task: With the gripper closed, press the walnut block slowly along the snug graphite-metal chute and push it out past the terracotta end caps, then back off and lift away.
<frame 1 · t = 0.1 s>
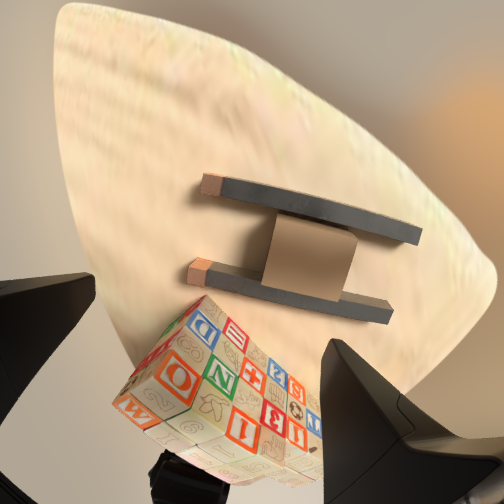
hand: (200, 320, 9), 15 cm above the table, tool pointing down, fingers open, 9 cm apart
stack of blocks: (257, 375, 28), on the table
walnut block: (305, 248, 23), on the table
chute: (305, 248, 23), on the table
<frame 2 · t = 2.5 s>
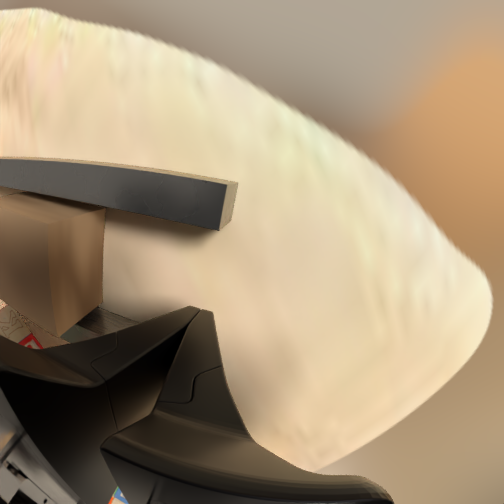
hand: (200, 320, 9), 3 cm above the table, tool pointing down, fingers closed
stack of blocks: (88, 411, 17), on the table
walnut block: (64, 242, 12), on the table
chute: (62, 243, 12), on the table
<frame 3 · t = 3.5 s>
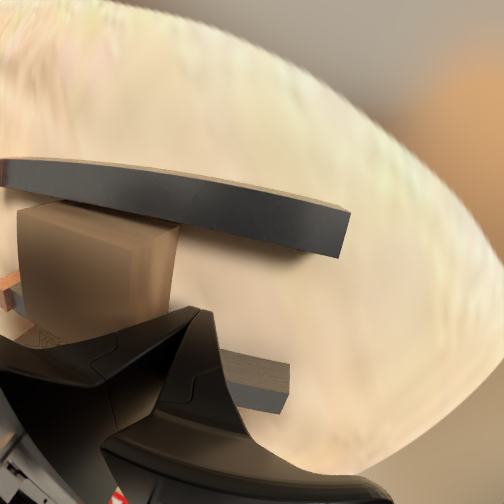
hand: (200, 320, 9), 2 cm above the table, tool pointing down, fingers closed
stack of blocks: (128, 432, 17), on the table
walnut block: (117, 260, 12), on the table
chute: (115, 261, 12), on the table
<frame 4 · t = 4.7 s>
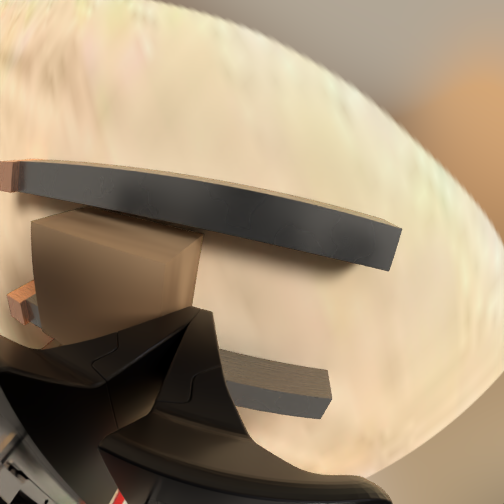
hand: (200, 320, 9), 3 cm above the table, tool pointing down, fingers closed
walnut block: (136, 270, 12), on the table
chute: (150, 273, 12), on the table
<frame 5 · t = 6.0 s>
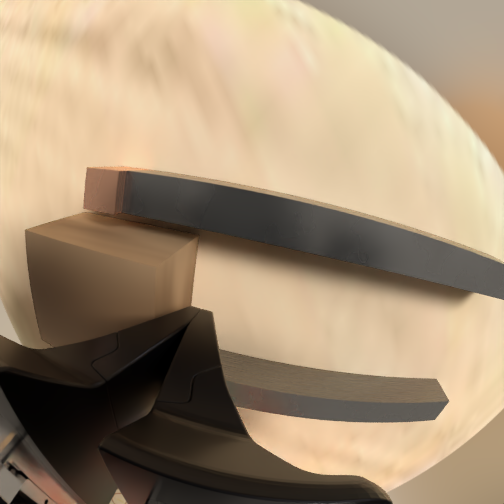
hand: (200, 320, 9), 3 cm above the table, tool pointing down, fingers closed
walnut block: (132, 274, 12), on the table, touching gripper
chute: (308, 311, 11), on the table
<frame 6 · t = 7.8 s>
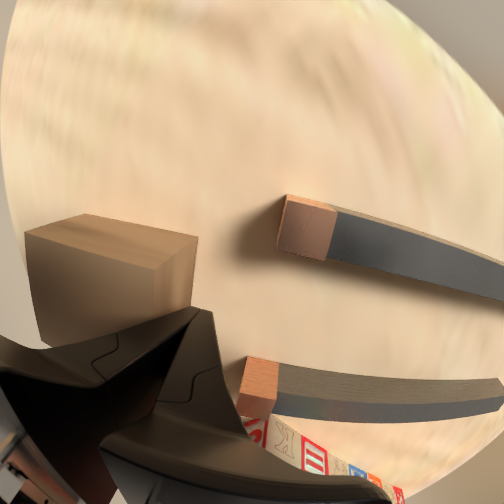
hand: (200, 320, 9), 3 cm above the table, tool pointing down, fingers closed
stack of blocks: (325, 477, 16), on the table
walnut block: (132, 276, 12), on the table, touching gripper
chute: (435, 333, 11), on the table
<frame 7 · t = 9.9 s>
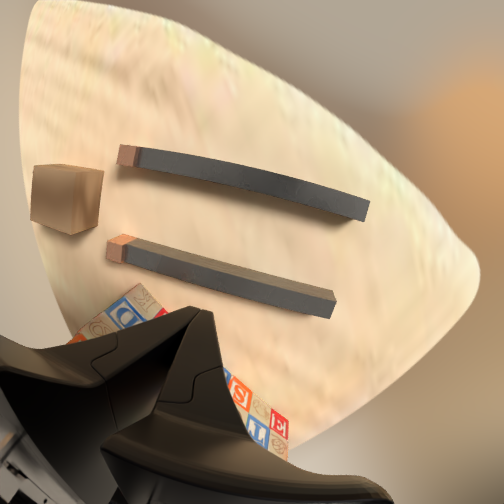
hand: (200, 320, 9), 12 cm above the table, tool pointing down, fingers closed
stack of blocks: (200, 374, 25), on the table
walnut block: (78, 193, 21), on the table
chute: (229, 224, 20), on the table
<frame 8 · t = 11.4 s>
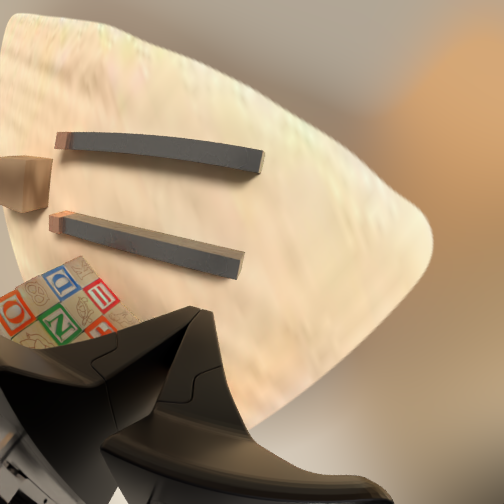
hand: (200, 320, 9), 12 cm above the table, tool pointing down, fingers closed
stack of blocks: (139, 346, 25), on the table
walnut block: (35, 179, 22), on the table
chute: (143, 192, 20), on the table
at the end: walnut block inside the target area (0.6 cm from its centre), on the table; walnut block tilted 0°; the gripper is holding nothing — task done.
